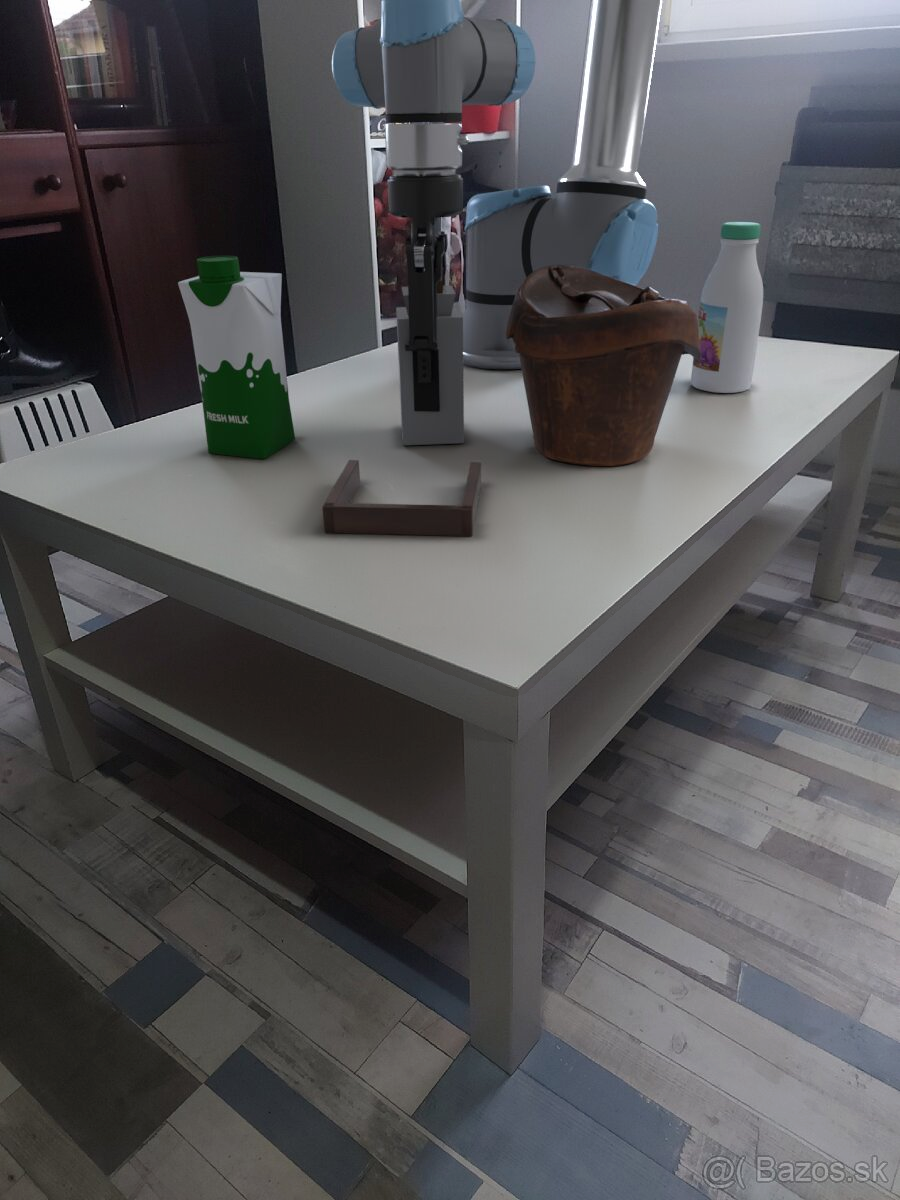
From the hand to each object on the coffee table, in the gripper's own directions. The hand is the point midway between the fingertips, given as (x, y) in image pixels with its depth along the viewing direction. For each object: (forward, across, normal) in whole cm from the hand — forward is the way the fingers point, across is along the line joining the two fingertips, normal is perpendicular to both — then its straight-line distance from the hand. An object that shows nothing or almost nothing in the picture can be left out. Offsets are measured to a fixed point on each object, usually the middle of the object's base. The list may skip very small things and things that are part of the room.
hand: (430, 401), depth 99 cm
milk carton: (+4, -5, +20) cm, 20 cm away
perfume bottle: (+4, 0, 0) cm, 4 cm away
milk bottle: (+4, +22, -36) cm, 42 cm away
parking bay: (+4, -21, 0) cm, 21 cm away
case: (+4, -3, -18) cm, 19 cm away
